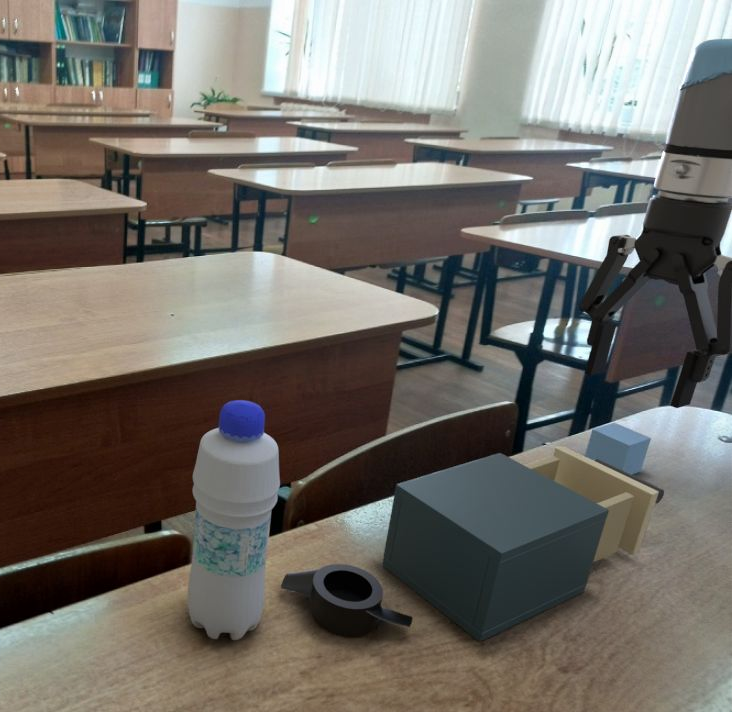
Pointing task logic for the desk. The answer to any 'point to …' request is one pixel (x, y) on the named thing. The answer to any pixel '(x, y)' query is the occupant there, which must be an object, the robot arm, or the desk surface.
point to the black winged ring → (344, 599)
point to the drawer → (606, 496)
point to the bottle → (232, 521)
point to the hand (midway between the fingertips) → (635, 388)
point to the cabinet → (492, 542)
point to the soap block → (618, 447)
